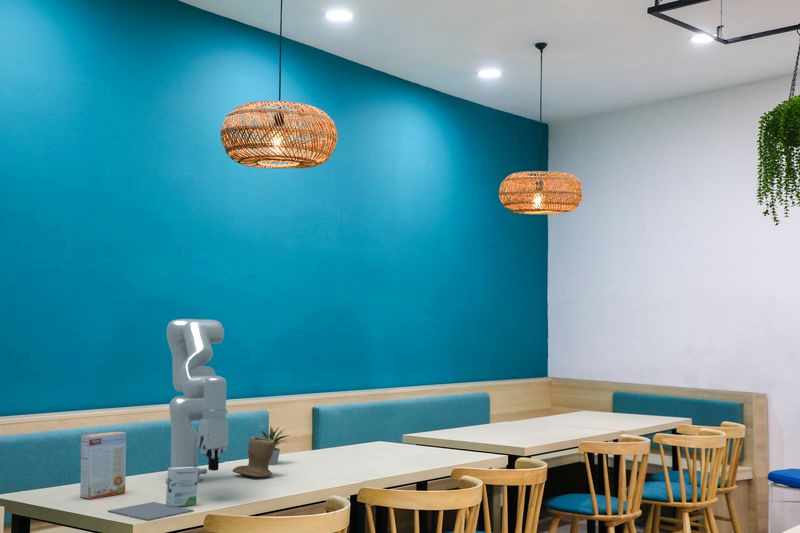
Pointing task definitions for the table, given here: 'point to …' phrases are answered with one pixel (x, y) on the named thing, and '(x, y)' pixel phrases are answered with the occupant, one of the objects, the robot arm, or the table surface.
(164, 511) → the mat
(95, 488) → the cracker box
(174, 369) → the robot arm
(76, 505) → the table surface
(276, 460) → the house plant
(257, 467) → the brown suede boot shape
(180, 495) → the ink box
